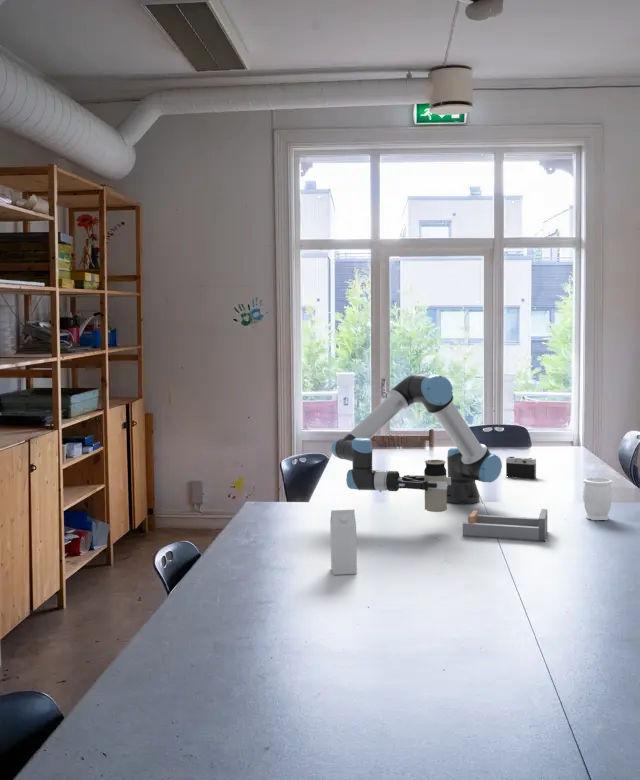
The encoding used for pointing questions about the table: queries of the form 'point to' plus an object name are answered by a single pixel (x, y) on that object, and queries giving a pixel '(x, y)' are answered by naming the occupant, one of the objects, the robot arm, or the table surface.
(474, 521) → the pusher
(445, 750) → the table surface
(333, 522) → the milk carton
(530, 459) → the camera
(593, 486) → the jar
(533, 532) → the grey open tray
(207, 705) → the table surface
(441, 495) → the travel mug
